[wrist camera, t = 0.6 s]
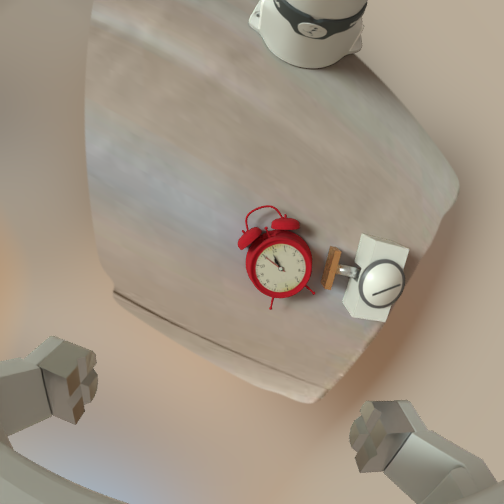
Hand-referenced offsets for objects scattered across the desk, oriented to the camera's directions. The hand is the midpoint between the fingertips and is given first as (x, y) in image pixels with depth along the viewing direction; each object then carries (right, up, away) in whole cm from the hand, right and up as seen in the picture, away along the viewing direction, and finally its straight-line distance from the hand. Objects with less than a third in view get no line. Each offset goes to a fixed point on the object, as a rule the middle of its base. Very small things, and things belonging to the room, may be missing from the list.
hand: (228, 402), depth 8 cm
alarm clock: (+4, +4, +40) cm, 41 cm away
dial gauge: (+20, +1, +40) cm, 45 cm away
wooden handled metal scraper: (+15, +2, +39) cm, 42 cm away
